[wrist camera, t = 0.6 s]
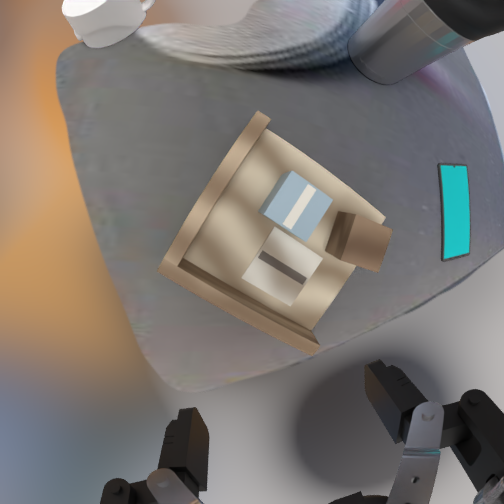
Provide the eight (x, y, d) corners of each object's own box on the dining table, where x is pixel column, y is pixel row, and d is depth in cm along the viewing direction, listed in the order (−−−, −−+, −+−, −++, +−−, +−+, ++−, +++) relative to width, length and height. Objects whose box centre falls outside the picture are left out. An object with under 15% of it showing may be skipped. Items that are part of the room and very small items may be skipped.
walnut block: (338, 211, 32) (356, 214, 27) (371, 224, 33) (392, 229, 28) (324, 250, 33) (340, 260, 28) (358, 262, 33) (378, 272, 29)
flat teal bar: (442, 262, 36) (439, 163, 33) (439, 261, 37) (435, 163, 33) (470, 254, 36) (467, 164, 33) (466, 254, 37) (464, 164, 34)
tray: (252, 123, 30) (257, 110, 25) (381, 216, 34) (403, 220, 29) (166, 259, 33) (156, 271, 27) (301, 336, 36) (312, 356, 31)
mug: (55, 31, 17) (57, -5, 15) (86, 59, 26) (83, 24, 24) (152, -16, 17) (144, -46, 15) (166, 24, 26) (157, -8, 25)
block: (281, 174, 31) (292, 170, 26) (317, 198, 31) (333, 199, 26) (257, 211, 31) (263, 214, 26) (294, 235, 32) (306, 242, 27)
